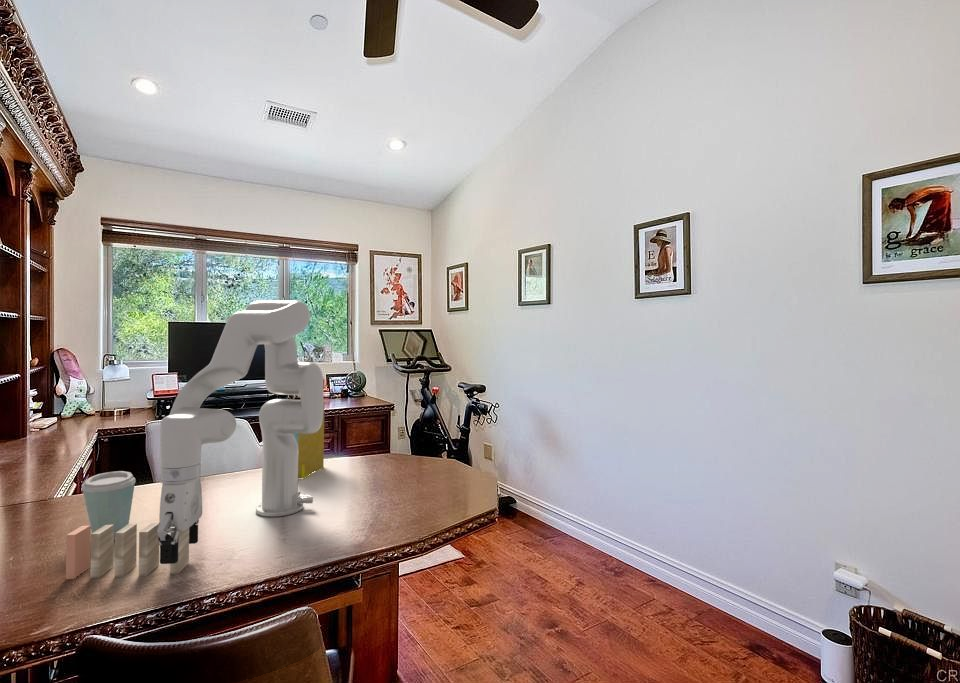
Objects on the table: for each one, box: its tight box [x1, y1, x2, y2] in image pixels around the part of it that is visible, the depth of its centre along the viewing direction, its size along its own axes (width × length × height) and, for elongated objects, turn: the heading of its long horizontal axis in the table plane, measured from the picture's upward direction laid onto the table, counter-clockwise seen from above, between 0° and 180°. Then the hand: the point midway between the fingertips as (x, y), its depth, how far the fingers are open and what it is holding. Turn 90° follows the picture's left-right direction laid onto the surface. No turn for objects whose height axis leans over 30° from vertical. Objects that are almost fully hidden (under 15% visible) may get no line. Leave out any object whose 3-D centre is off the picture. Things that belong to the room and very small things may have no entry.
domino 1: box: [65, 525, 92, 580], centre depth 103 cm, size 2×5×9 cm, turn 9°
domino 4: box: [138, 522, 160, 577], centre depth 105 cm, size 2×5×9 cm, turn 8°
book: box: [292, 400, 325, 479], centre depth 181 cm, size 17×7×25 cm, turn 168°
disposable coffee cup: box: [81, 470, 137, 541], centre depth 121 cm, size 11×11×15 cm
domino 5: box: [169, 527, 190, 575], centre depth 106 cm, size 2×5×9 cm, turn 8°
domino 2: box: [89, 525, 115, 579], centre depth 103 cm, size 2×5×9 cm, turn 9°
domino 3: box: [114, 523, 138, 578], centre depth 104 cm, size 2×5×9 cm, turn 8°
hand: (179, 552), depth 106 cm, fingers open, 9 cm apart
